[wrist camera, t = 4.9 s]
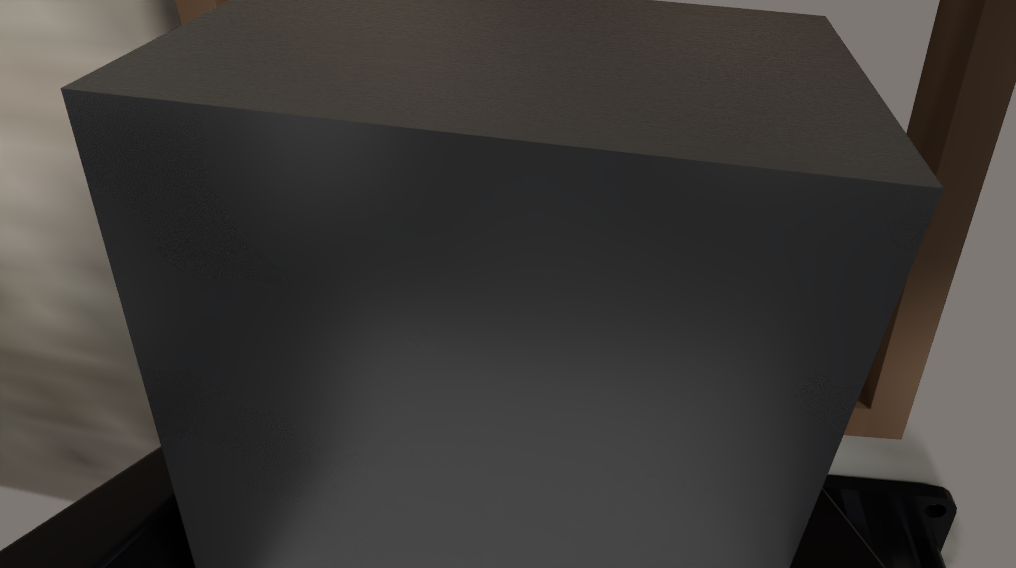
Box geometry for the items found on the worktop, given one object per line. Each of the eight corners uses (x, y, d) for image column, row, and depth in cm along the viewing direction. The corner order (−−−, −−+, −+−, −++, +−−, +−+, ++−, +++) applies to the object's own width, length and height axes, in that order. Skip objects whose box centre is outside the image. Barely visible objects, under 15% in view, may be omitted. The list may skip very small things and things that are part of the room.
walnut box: (1059, -255, 12) (1124, -260, 10) (879, 380, 19) (901, 439, 17) (182, -208, 14) (119, -205, 12) (309, 341, 21) (279, 390, 19)
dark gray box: (825, 16, 7) (945, 188, 4) (662, 611, 12) (663, 878, 9) (292, -33, 7) (59, 88, 5) (351, 556, 12) (258, 790, 10)
